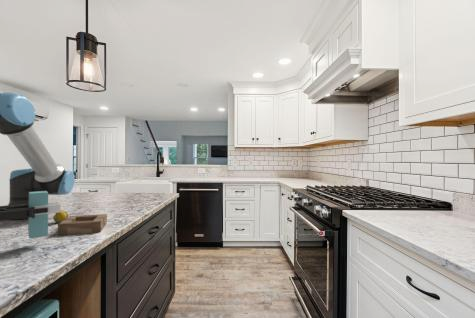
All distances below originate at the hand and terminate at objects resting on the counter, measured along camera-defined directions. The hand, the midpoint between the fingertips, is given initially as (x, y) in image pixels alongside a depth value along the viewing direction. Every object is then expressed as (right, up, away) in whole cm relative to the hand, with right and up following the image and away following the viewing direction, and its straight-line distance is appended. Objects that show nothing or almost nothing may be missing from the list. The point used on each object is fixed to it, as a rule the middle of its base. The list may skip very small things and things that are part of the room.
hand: (58, 206), depth 83 cm
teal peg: (-4, -8, -4) cm, 10 cm away
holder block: (-1, -12, +16) cm, 20 cm away
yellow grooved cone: (-17, -12, +26) cm, 33 cm away
